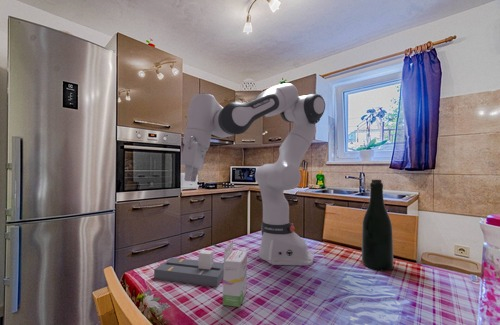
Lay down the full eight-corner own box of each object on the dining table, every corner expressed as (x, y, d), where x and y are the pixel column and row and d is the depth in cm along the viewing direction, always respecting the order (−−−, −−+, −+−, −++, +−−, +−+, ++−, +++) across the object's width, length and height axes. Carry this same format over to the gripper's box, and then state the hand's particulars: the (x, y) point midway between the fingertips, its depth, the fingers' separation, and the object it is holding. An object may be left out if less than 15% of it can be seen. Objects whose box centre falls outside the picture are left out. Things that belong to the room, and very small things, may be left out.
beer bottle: (384, 260, 89) (383, 179, 90) (399, 272, 78) (398, 180, 80) (357, 259, 90) (357, 178, 91) (368, 270, 79) (368, 179, 81)
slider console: (227, 272, 77) (227, 263, 77) (217, 287, 67) (217, 276, 67) (171, 265, 82) (171, 257, 82) (154, 278, 72) (154, 269, 72)
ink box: (240, 308, 57) (241, 250, 58) (222, 305, 58) (223, 249, 59) (247, 290, 66) (248, 240, 66) (231, 288, 67) (232, 239, 67)
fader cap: (213, 270, 75) (213, 250, 75) (209, 274, 72) (210, 254, 72) (202, 268, 75) (202, 249, 76) (198, 272, 72) (198, 253, 73)
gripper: (202, 134, 64) (194, 182, 62) (209, 147, 84) (203, 183, 82) (180, 131, 63) (172, 179, 62) (192, 144, 83) (186, 180, 82)
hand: (190, 181), depth 72 cm, fingers open, 8 cm apart
